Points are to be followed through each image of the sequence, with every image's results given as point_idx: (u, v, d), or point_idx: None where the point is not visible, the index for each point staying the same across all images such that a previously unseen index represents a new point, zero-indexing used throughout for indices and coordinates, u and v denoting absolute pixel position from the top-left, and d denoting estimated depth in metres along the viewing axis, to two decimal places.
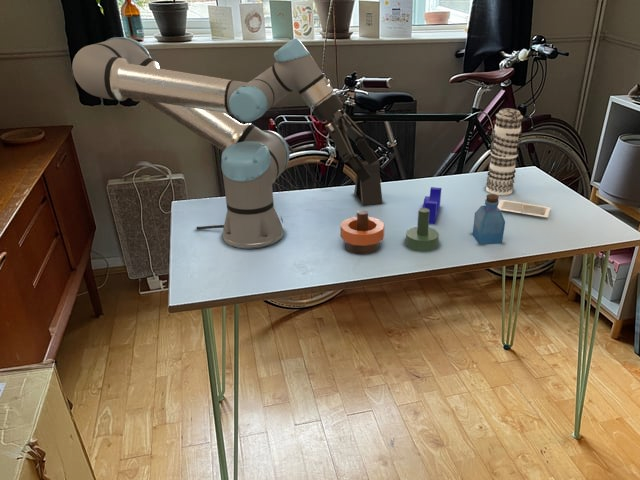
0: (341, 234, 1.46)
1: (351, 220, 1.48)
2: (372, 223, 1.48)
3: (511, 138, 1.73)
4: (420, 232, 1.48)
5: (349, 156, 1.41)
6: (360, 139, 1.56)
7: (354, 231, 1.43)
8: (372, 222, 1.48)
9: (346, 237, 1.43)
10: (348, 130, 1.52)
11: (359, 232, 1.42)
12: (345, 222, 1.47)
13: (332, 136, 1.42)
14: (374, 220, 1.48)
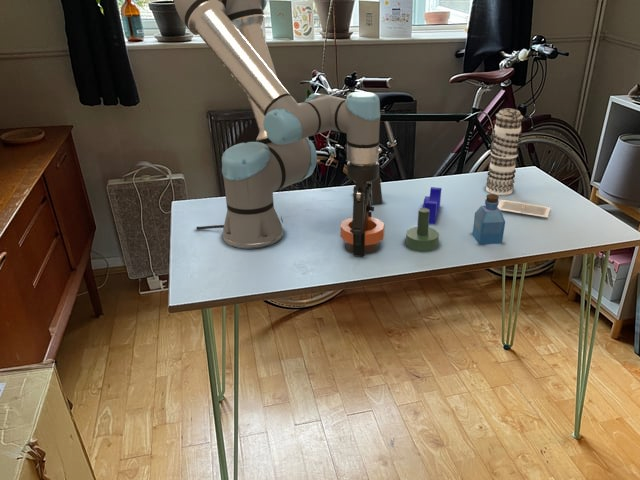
0: (341, 234, 1.46)
1: (351, 220, 1.48)
2: (372, 223, 1.48)
3: (511, 138, 1.73)
4: (420, 232, 1.48)
5: (360, 232, 1.37)
6: (367, 209, 1.50)
7: None
8: (372, 222, 1.48)
9: (346, 237, 1.43)
10: None
11: None
12: (345, 222, 1.47)
13: (354, 205, 1.36)
14: (374, 220, 1.48)
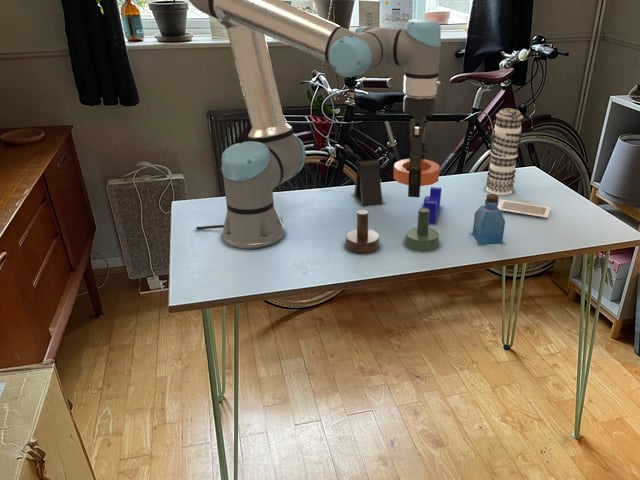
0: (394, 175, 1.39)
1: (404, 162, 1.42)
2: (426, 165, 1.42)
3: (511, 138, 1.73)
4: (420, 232, 1.48)
5: (417, 170, 1.31)
6: None
7: None
8: (426, 164, 1.42)
9: (400, 177, 1.37)
10: None
11: None
12: (398, 163, 1.41)
13: (412, 140, 1.29)
14: (428, 162, 1.42)
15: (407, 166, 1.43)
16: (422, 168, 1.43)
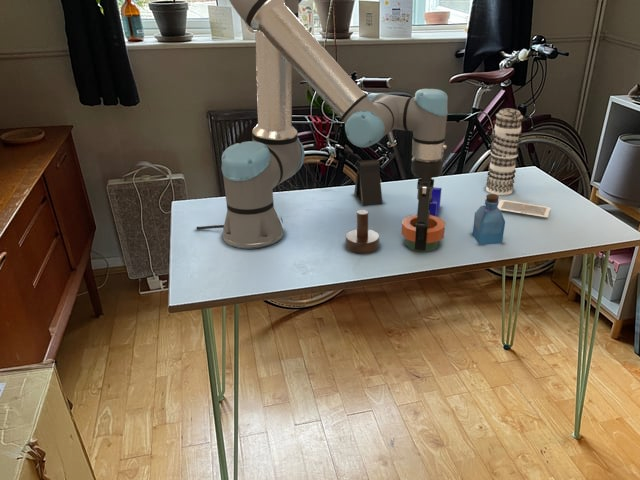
0: (402, 232, 1.48)
1: (411, 218, 1.50)
2: (432, 221, 1.50)
3: (511, 138, 1.73)
4: None
5: (424, 227, 1.37)
6: None
7: None
8: (432, 220, 1.50)
9: (408, 235, 1.45)
10: None
11: None
12: (406, 220, 1.49)
13: (420, 199, 1.37)
14: (434, 218, 1.50)
15: (414, 222, 1.51)
16: None
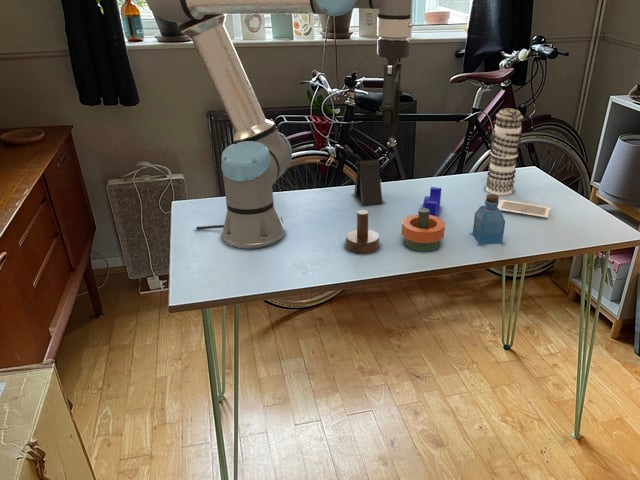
0: (402, 232, 1.48)
1: (411, 218, 1.50)
2: (432, 221, 1.50)
3: (511, 138, 1.73)
4: None
5: (390, 108, 1.33)
6: (396, 94, 1.48)
7: (416, 229, 1.45)
8: (432, 220, 1.50)
9: (408, 235, 1.45)
10: None
11: (422, 230, 1.44)
12: (406, 220, 1.49)
13: (385, 78, 1.32)
14: (434, 218, 1.50)
15: (414, 222, 1.51)
16: None
